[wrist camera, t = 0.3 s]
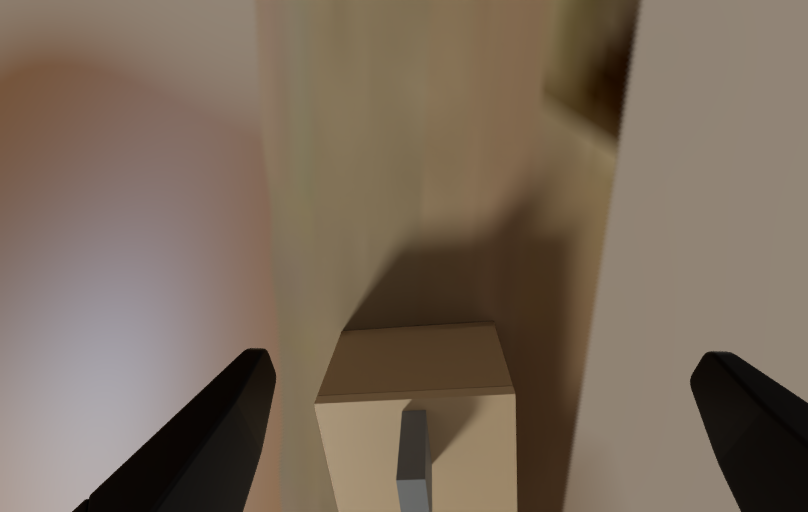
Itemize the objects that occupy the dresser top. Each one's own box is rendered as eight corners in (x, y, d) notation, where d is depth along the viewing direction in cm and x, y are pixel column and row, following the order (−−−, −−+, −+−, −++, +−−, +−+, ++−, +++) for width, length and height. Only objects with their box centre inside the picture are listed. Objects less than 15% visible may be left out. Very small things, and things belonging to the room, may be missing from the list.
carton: (499, 481, 31) (516, 572, 25) (370, 485, 32) (357, 573, 26) (493, 320, 26) (512, 385, 20) (341, 331, 27) (317, 395, 21)
